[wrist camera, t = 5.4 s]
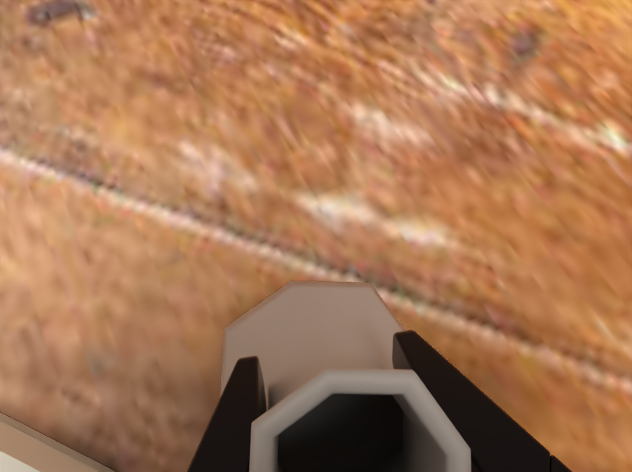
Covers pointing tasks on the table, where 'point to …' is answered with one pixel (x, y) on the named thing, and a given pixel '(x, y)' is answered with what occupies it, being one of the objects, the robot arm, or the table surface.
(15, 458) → the tray
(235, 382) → the robot arm
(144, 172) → the table surface
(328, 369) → the flask
